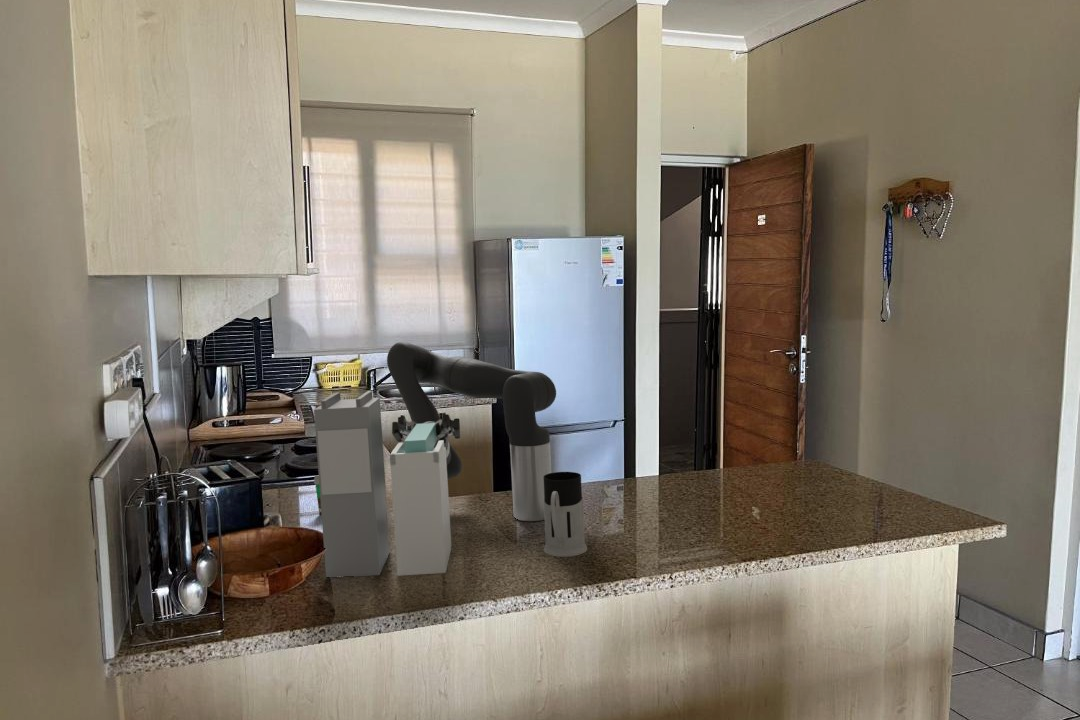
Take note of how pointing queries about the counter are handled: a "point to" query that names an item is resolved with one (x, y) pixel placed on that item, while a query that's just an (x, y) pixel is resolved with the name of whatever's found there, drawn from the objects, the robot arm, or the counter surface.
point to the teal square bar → (421, 438)
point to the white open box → (421, 510)
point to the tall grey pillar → (352, 485)
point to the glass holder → (564, 514)
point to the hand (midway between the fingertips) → (422, 417)
